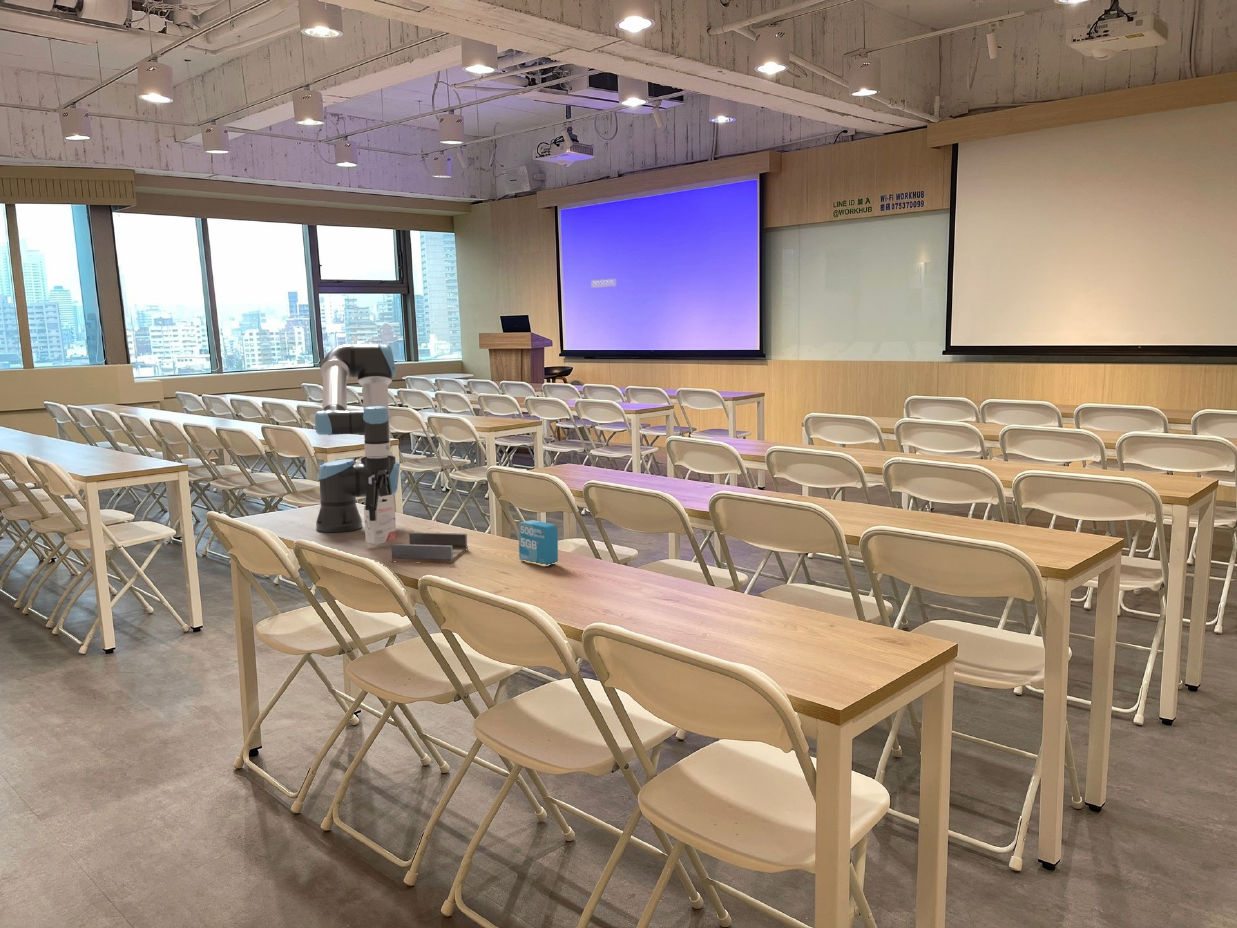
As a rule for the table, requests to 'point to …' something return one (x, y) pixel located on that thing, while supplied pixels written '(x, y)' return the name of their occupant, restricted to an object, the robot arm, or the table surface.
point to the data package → (538, 542)
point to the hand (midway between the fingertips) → (380, 526)
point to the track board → (430, 548)
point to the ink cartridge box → (382, 522)
